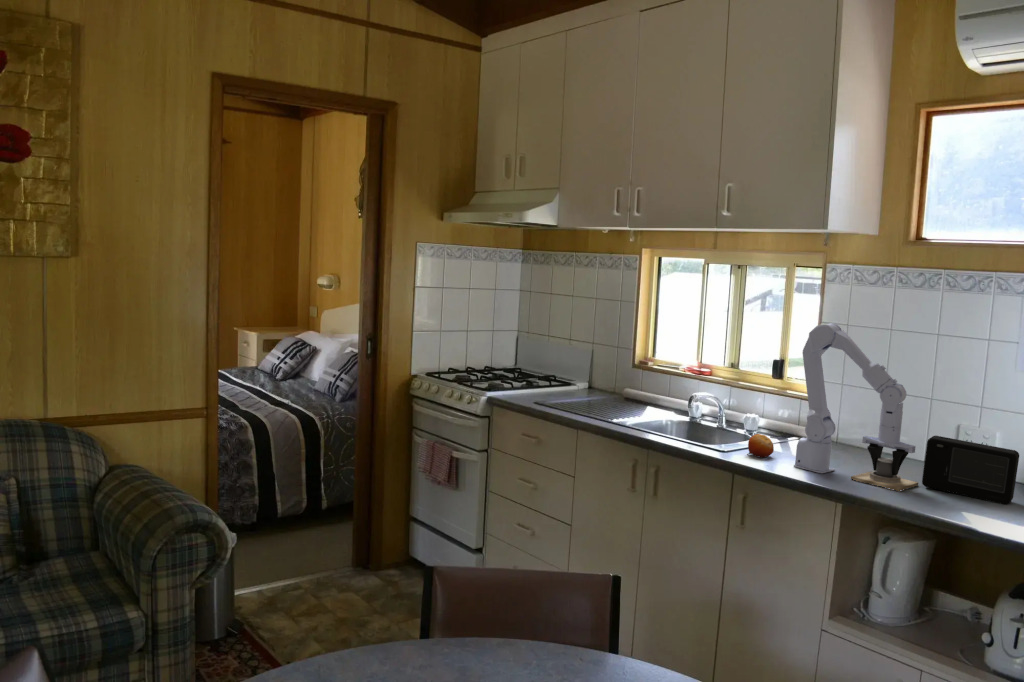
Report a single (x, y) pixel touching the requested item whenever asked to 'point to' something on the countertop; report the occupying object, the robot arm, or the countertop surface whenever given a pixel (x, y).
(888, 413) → the robot arm
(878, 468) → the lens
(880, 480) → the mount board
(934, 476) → the black box
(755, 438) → the fruit
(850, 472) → the countertop surface
